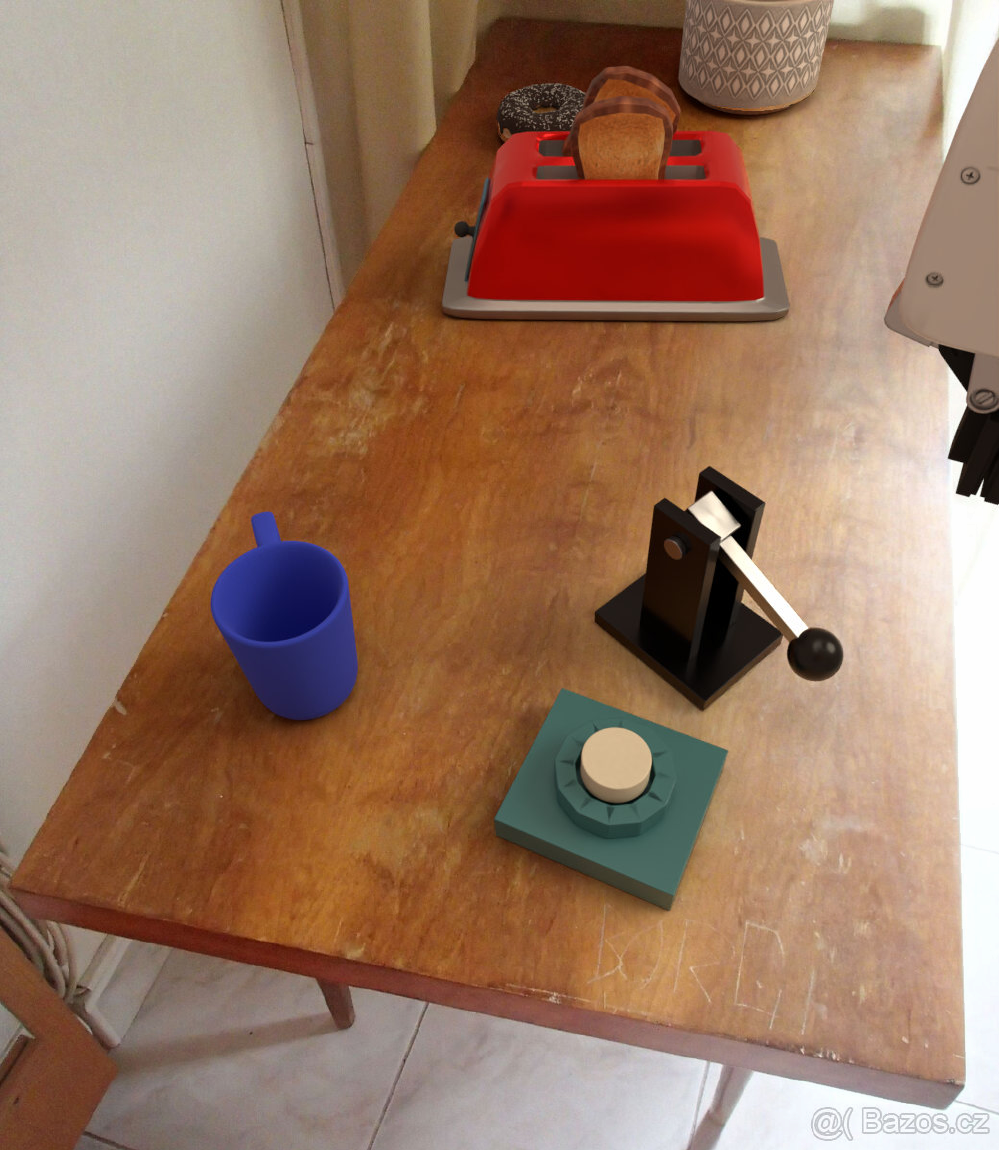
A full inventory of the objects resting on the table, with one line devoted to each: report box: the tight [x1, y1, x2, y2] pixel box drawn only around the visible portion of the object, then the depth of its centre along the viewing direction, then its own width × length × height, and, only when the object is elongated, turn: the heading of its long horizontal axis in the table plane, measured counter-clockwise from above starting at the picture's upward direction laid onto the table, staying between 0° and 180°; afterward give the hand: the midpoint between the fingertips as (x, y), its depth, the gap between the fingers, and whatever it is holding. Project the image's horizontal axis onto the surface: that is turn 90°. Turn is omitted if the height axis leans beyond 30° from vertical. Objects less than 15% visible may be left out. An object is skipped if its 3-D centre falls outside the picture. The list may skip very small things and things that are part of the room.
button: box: [581, 727, 652, 803], centre depth 57 cm, size 4×4×2 cm
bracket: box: [593, 465, 784, 712], centre depth 63 cm, size 10×8×13 cm
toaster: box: [441, 65, 791, 322], centre depth 88 cm, size 32×13×19 cm, turn 86°
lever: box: [684, 491, 845, 683], centre depth 59 cm, size 13×3×3 cm, turn 41°
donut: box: [495, 82, 586, 143], centre depth 113 cm, size 11×12×4 cm
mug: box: [210, 511, 359, 721], centre depth 64 cm, size 8×12×10 cm
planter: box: [677, 0, 835, 116], centre depth 115 cm, size 16×16×13 cm
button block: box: [493, 687, 729, 911], centre depth 59 cm, size 11×10×4 cm
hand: (981, 476), depth 39 cm, fingers closed
